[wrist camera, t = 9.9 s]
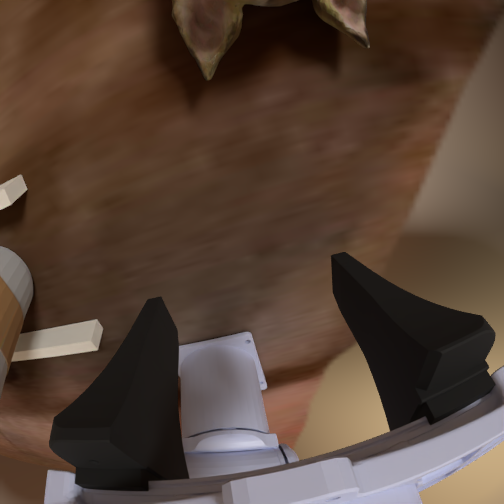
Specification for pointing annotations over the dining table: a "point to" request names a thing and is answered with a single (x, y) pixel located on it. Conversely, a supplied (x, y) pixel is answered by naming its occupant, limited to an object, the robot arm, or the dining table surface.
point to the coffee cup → (12, 305)
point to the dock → (57, 338)
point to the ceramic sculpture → (230, 22)
